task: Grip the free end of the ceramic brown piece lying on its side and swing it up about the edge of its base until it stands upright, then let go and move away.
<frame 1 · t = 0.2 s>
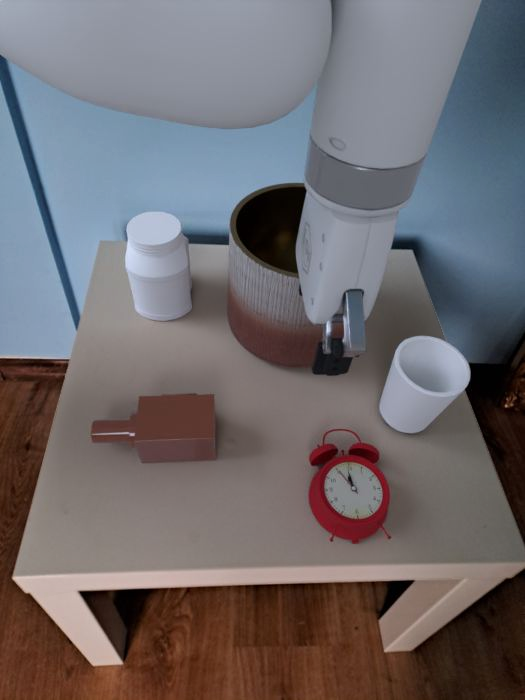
hand: (321, 330, 44), 26 cm above the table, tool pointing down, fingers open, 9 cm apart
alarm clock: (344, 488, 62), on the table
cup: (402, 414, 70), on the table
brown piece: (155, 422, 62), point 3 cm above the table, hinge at 90.0°
planter: (290, 321, 80), on the table
jar: (164, 297, 81), on the table
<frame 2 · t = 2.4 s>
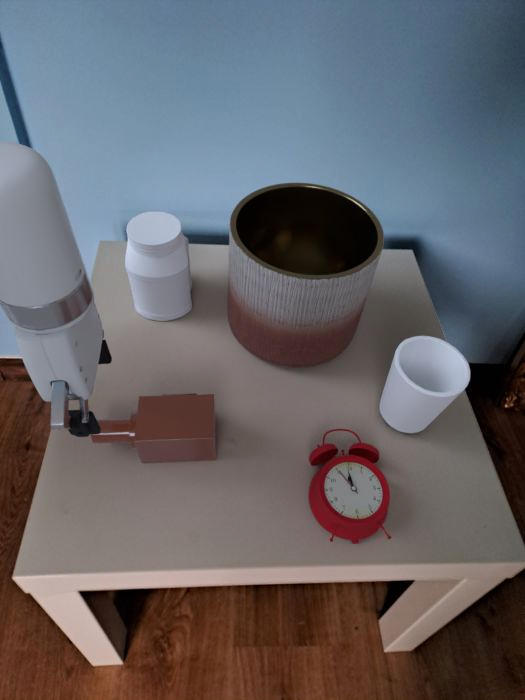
hand: (93, 395, 54), 12 cm above the table, tool pointing down, fingers open, 9 cm apart
nothing on the table moved.
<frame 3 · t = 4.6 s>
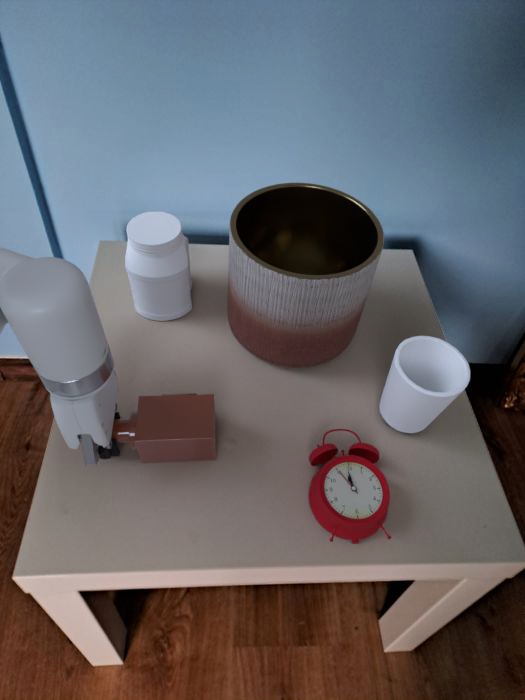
hand: (109, 440, 63), 1 cm above the table, tool pointing down, fingers closed on brown piece, 3 cm apart
brown piece: (155, 422, 62), point 3 cm above the table, hinge at 90.0°, touching gripper
everything else where it was.
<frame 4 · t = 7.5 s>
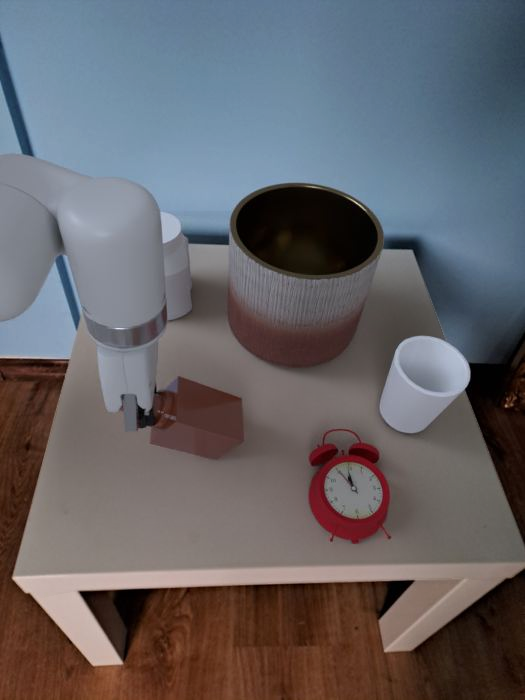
hand: (142, 408, 57), 9 cm above the table, tool pointing down, fingers closed on brown piece, 3 cm apart
brown piece: (178, 406, 59), point 7 cm above the table, hinge at 55.1°, touching gripper
everything else where it was.
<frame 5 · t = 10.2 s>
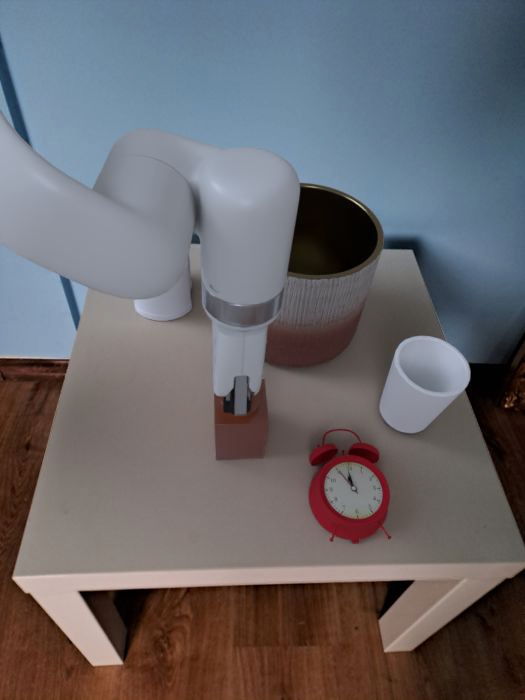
hand: (235, 395, 56), 11 cm above the table, tool pointing down, fingers closed on brown piece, 3 cm apart
brown piece: (239, 401, 60), point 8 cm above the table, hinge at 0.0°, touching gripper
everything else where it was.
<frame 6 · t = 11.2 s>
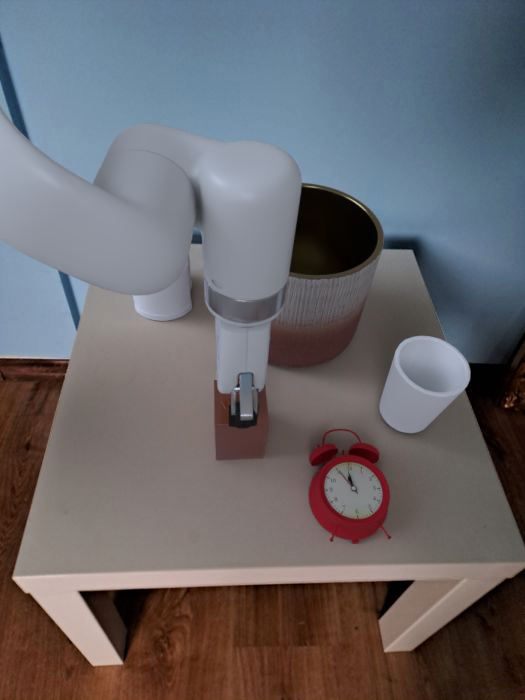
hand: (240, 388, 55), 13 cm above the table, tool pointing down, fingers open, 9 cm apart
brown piece: (239, 401, 60), point 8 cm above the table, hinge at -0.1°
everything else where it was.
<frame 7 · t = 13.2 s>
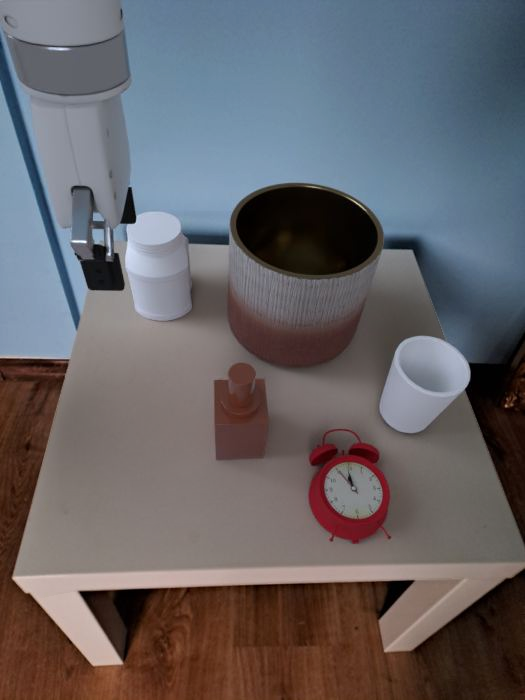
hand: (114, 253, 45), 29 cm above the table, tool pointing down, fingers open, 9 cm apart
nothing on the table moved.
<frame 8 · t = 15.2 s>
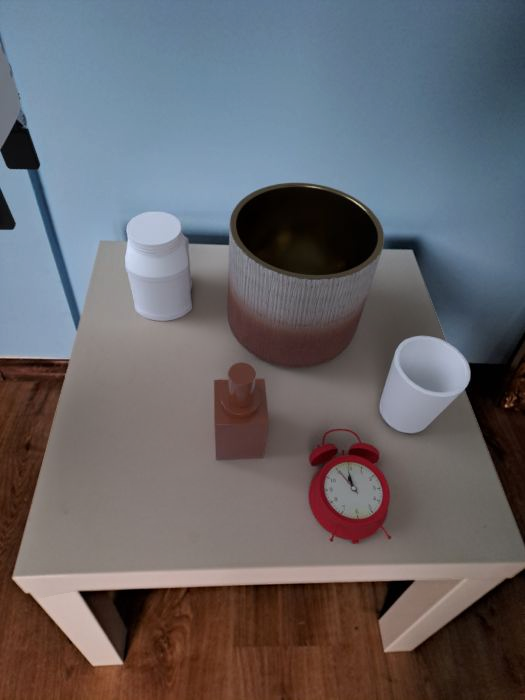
hand: (12, 195, 44), 32 cm above the table, tool pointing down, fingers open, 9 cm apart
nothing on the table moved.
at the end: brown piece at +0° (first picture: +90°) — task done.
